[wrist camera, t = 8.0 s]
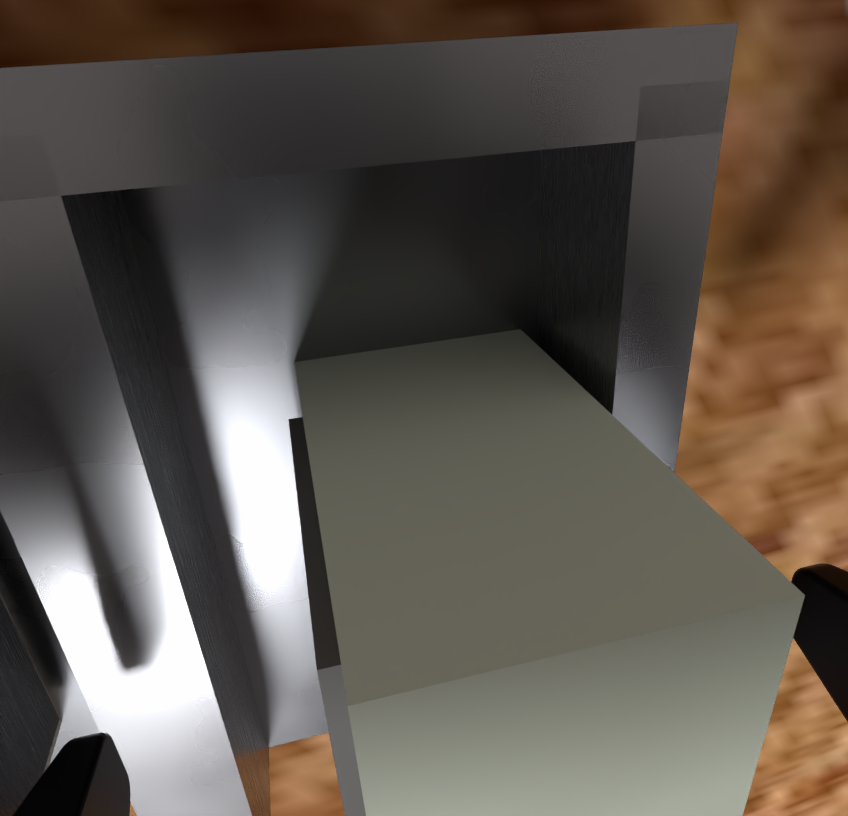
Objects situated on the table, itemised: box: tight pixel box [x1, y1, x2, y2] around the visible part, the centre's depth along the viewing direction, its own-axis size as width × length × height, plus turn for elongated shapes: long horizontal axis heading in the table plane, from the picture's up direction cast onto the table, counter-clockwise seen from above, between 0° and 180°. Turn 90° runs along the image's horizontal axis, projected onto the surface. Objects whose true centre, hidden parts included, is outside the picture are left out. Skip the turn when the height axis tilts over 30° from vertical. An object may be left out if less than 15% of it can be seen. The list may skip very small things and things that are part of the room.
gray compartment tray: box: [0, 23, 738, 816], centre depth 9 cm, size 12×14×4 cm
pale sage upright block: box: [288, 329, 805, 816], centre depth 9 cm, size 6×4×6 cm, turn 3°
